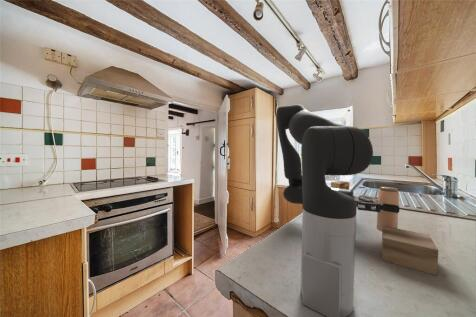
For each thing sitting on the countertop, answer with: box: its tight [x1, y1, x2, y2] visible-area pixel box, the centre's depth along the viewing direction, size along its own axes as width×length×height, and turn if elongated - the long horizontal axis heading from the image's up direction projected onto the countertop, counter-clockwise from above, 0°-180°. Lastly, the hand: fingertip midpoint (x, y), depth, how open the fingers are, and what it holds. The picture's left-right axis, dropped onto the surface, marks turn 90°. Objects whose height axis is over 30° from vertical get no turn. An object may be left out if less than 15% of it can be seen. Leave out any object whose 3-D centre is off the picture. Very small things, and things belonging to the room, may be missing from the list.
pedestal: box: [381, 226, 439, 276], centre depth 49 cm, size 10×10×6 cm
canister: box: [376, 186, 400, 232], centre depth 59 cm, size 5×5×14 cm
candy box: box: [330, 180, 351, 190], centre depth 82 cm, size 9×4×15 cm, turn 123°
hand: (398, 207), depth 58 cm, fingers closed on canister, 5 cm apart
